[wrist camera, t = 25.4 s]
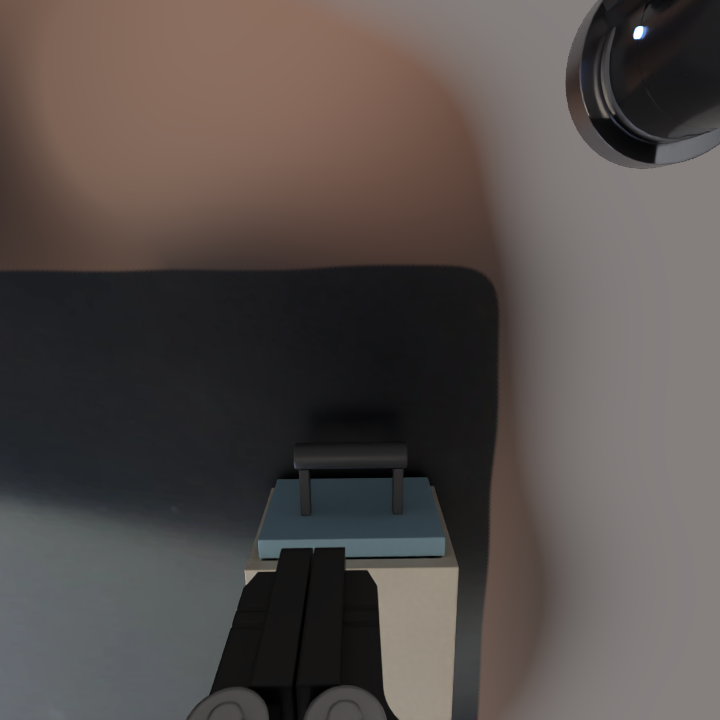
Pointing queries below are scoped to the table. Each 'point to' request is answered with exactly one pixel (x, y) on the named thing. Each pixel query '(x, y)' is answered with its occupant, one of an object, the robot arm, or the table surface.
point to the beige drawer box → (408, 625)
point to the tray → (353, 506)
